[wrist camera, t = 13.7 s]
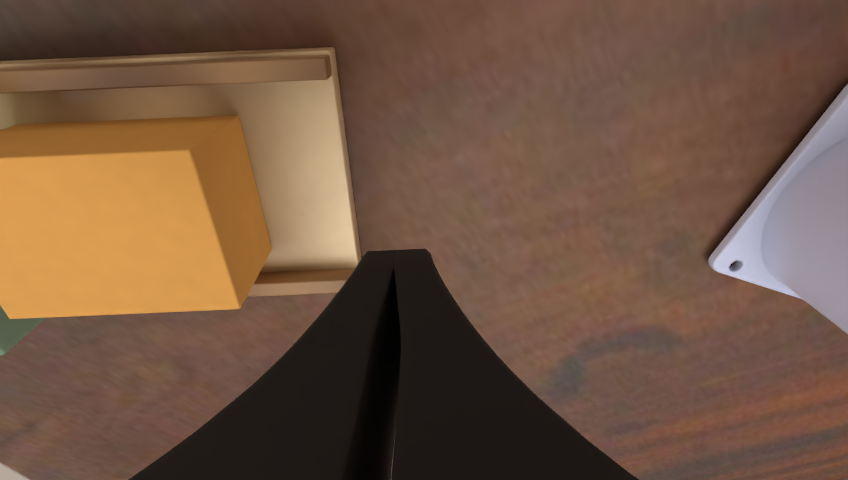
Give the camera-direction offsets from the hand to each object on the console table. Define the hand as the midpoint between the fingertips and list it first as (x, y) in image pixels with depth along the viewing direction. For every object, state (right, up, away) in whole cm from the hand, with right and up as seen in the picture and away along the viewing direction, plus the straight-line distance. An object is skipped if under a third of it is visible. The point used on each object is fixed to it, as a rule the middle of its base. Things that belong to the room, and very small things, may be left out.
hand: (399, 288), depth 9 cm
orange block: (-9, +3, +5) cm, 11 cm away
